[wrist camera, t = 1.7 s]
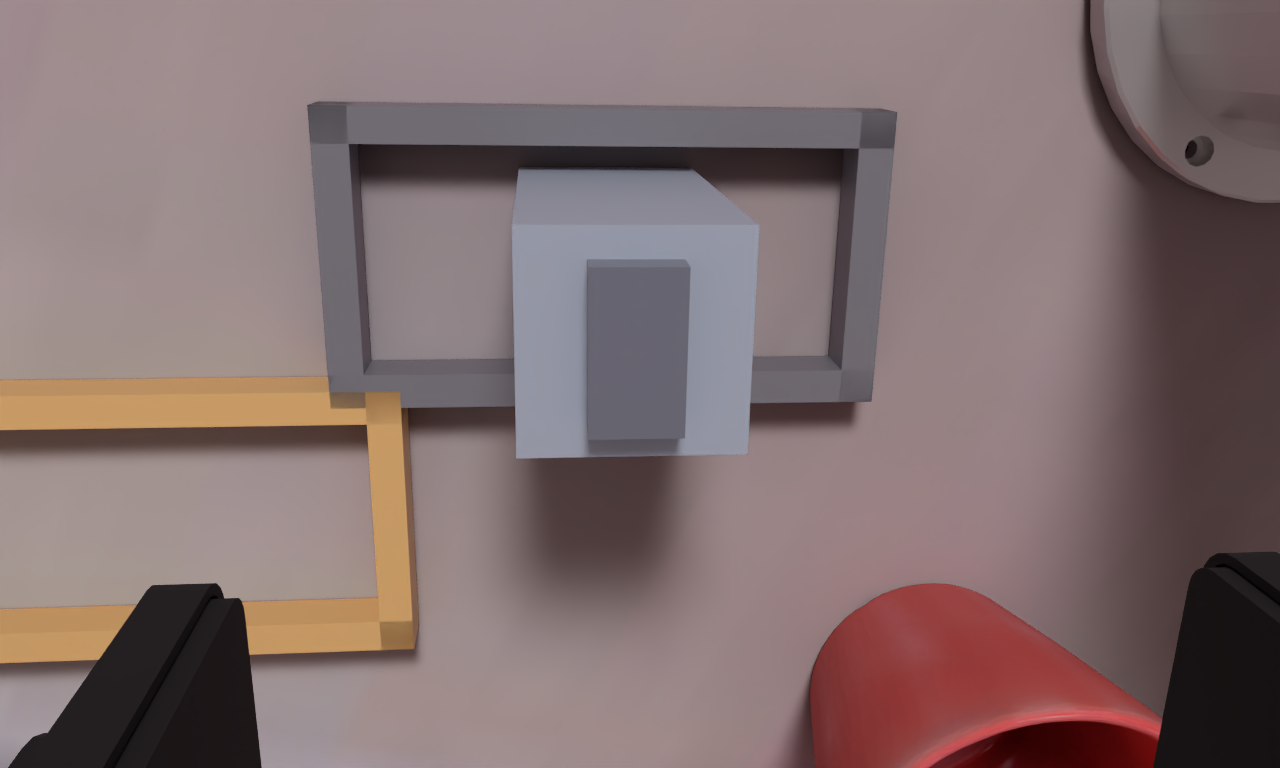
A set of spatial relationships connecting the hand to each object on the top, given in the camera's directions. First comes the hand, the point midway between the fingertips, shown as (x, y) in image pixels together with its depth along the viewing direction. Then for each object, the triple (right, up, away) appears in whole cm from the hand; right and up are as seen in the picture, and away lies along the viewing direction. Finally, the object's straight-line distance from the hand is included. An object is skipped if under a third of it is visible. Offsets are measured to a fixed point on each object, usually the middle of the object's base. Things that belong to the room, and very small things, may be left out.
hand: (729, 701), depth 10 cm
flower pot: (+9, -7, +27) cm, 29 cm away
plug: (-2, +7, +21) cm, 23 cm away
